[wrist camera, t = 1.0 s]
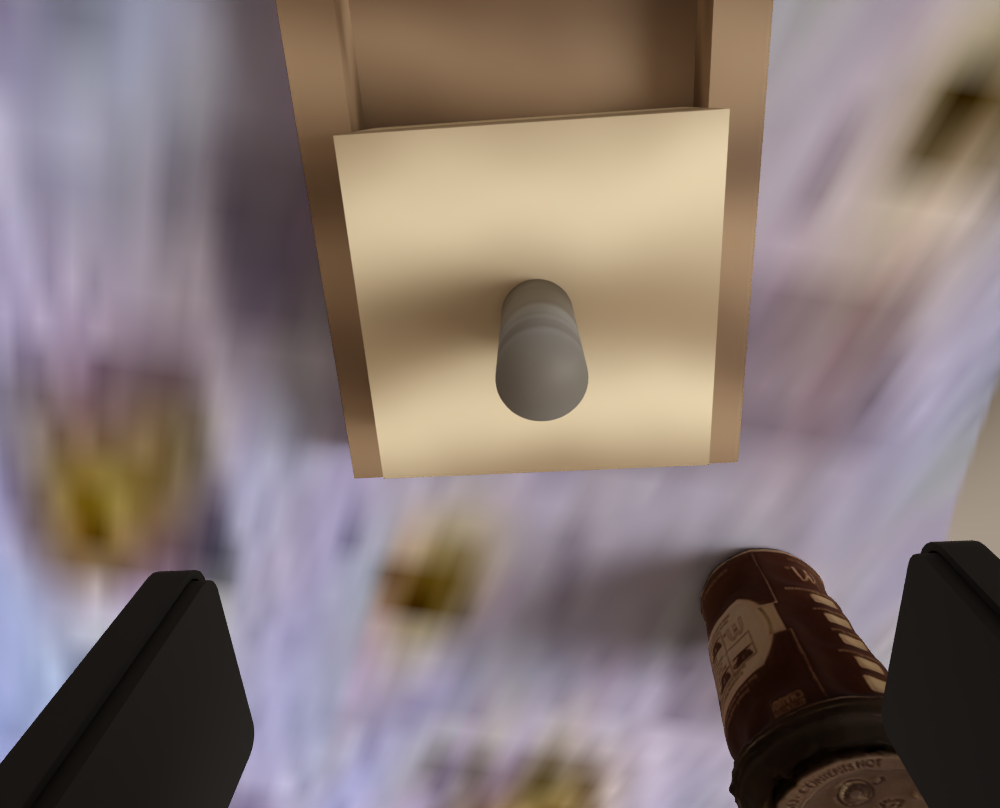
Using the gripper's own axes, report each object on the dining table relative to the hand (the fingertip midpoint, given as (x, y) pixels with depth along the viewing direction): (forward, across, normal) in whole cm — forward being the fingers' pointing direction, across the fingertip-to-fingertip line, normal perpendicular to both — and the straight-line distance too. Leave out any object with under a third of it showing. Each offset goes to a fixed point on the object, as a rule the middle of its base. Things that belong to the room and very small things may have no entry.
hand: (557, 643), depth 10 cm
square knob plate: (+23, 0, 0) cm, 23 cm away
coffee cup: (+24, -11, +18) cm, 32 cm away
